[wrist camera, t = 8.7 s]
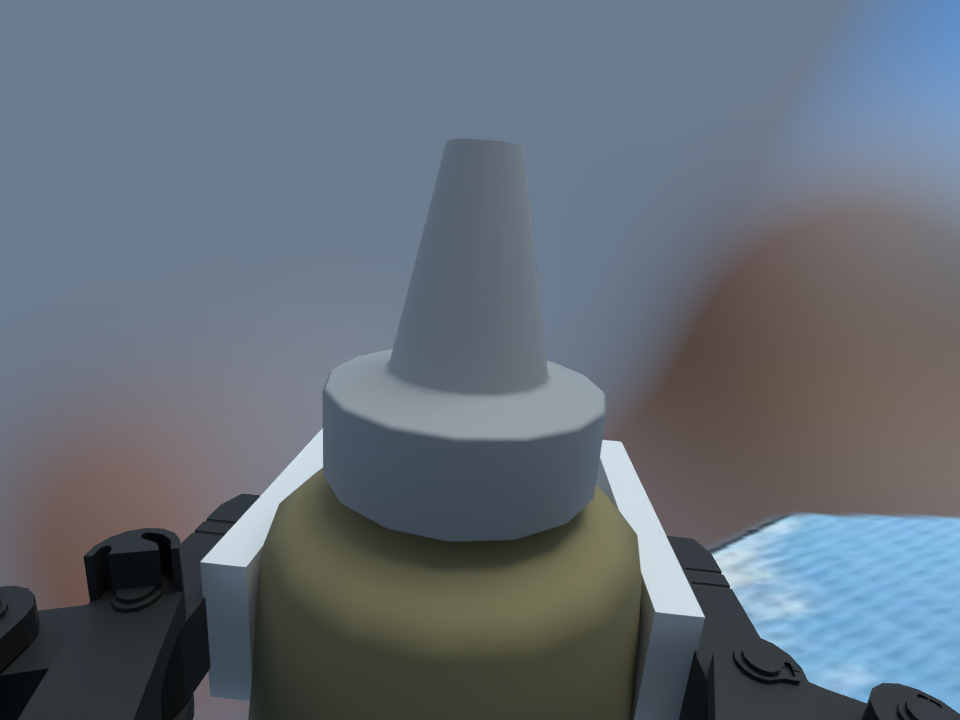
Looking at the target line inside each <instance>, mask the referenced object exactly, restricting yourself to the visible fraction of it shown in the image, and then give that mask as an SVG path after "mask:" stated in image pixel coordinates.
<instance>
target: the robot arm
mask: <svg viewBox="0 0 960 720" xmlns="http://www.w3.org/2000/svg"><path fill="white" fill-rule="evenodd" d="M321 468H323V428H322V430H321V431H320V432H319V433H318V434H317V435H316V436H315V437H314V438H313V439H312V440H311V442H310V443H309V444H308V445H307V446H306V447H305V448H304V449H303V450H302V451H301V452H300V454H299V455H298V456H297V457H296V458H295V459H294V460H293V461H292V462H291V463H290V465H289V466H288V467H287V468H286V469H285V470H284V471H283V472H282V473H281V474H280V475H279V477H278V478H277V479H276V480H275V481H274V482H273V483H272V484H271V485H270V486H269V487H268V489H267V490H266V491H265V492H264V493H263V494H262V495H261V496H259V495H250V494H241V495H239V496H237V497H235V498H233V499H231V500H229V501H227V502H225V503H224V504H222V505H220V506H219V507H218V508H217V509H216V510H215V511H214V512H213V513H212V514H211V515H210V516H209V517H208V518H207V520H206V522H203V523H202V524H201V525H200V526H199V527H198V528H197V529H196V530H195V532H194V533H192V534H191V535H190V536H188V538H187V539H185V540H184V541H183V542H182V543H181V544H180V539H179V538H178V536H177V535H176V534H175V533H174V532H171V531H168V530H165V529H158V528H144V529H139V530H132V531H127V532H124V533H121V534H118V535H116V536H113V537H110V538H108V539H106V540H104V541H103V542H101V543H99V544H97V545H95V546H94V547H93V548H92V549H91V550H90V551H89V552H88V553H87V554H86V555H85V556H84V562H85V568H86V576H87V583H88V590H89V597H90V602H89V604H87V605H82V606H75V607H66V608H58V609H50V610H41V611H37V605H36V600H35V595H34V594H33V593H32V592H31V591H30V590H29V589H27V588H22V587H18V586H5V587H0V720H193V717H194V695H193V693H194V691H195V690H196V688H197V687H198V685H199V684H200V682H201V681H202V679H203V678H204V676H205V675H206V673H207V672H209V685H210V696H211V697H219V698H229V699H236V700H244V701H250V695H251V684H252V671H253V659H254V647H255V635H256V623H257V611H258V599H259V587H260V575H261V563H262V551H263V544H264V542H265V539H266V537H267V534H268V532H269V529H270V526H271V524H272V521H273V519H274V516H275V513H276V511H277V508H278V506H279V503H280V502H282V501H283V500H284V499H285V498H286V497H287V496H289V495H290V494H291V493H292V492H293V491H295V490H296V489H297V488H298V487H299V486H300V485H302V484H303V483H304V482H305V481H306V480H308V479H309V478H310V477H311V476H312V475H313V474H315V473H316V472H317V471H319V470H320V469H321ZM596 485H597V486H598V487H599V488H600V489H601V490H602V491H603V492H604V493H605V494H606V495H607V496H608V497H609V498H610V499H611V500H612V502H613V503H614V504H615V506H616V507H617V508H618V510H619V511H620V512H621V514H622V515H623V516H624V518H625V519H626V520H627V522H628V523H629V524H630V526H631V527H632V528H633V530H634V531H635V532H636V534H637V536H638V546H639V557H640V567H641V577H642V584H641V600H640V615H639V630H638V646H637V661H636V677H635V692H634V701H633V709H632V717H631V720H960V714H959V713H957V712H956V711H955V710H953V709H952V708H950V707H949V706H948V705H946V704H945V703H943V702H942V701H940V700H938V699H936V698H934V697H933V696H930V695H928V694H926V693H924V692H922V691H920V690H918V689H915V688H911V687H908V686H905V685H901V684H892V683H882V684H880V685H878V686H876V687H874V688H872V691H871V694H870V697H869V700H868V702H867V703H864V702H861V701H858V700H855V699H852V698H850V697H847V696H844V695H841V694H838V693H835V692H833V691H830V690H827V689H824V688H822V687H819V686H817V685H815V684H812V683H810V682H808V680H807V678H806V676H805V674H804V672H803V670H802V668H801V667H800V666H799V665H798V664H797V663H796V662H795V661H794V659H793V658H792V657H791V656H790V655H789V654H787V653H786V652H784V651H783V650H781V649H780V648H779V647H777V646H776V645H774V644H773V643H770V642H768V641H766V640H763V639H761V638H760V637H759V635H758V633H757V631H756V630H755V628H754V626H753V625H752V623H751V621H750V619H749V618H748V616H747V614H746V613H745V611H744V609H743V607H742V606H741V604H740V602H739V601H738V599H737V597H736V596H735V594H734V592H733V590H732V589H730V585H729V584H728V582H727V580H726V578H725V577H724V575H722V574H721V570H720V568H719V566H718V565H717V563H716V561H715V560H714V558H713V556H712V555H711V554H710V553H709V552H708V551H707V550H706V549H705V548H703V547H702V546H701V545H700V544H699V543H698V542H696V541H695V540H694V539H690V538H679V537H670V536H666V535H665V532H664V530H663V528H662V526H661V524H660V522H659V520H658V518H657V516H656V514H655V512H654V509H653V507H652V505H651V503H650V501H649V499H648V497H647V495H646V493H645V491H644V488H643V486H642V484H641V482H640V480H639V478H638V476H637V474H636V472H635V470H634V467H633V466H632V463H631V461H630V459H629V457H628V455H627V453H626V451H625V449H624V446H623V444H622V442H618V441H606V440H602V446H601V453H600V459H599V466H598V473H597V479H596Z"/></svg>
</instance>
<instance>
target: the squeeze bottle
mask: <svg viewBox="0 0 960 720" xmlns="http://www.w3.org/2000/svg"><path fill="white" fill-rule="evenodd" d="M605 419H606V396H605V394H604V393H603V391H601V390H600V389H599V388H598V387H597V386H596V385H595V384H593V383H592V382H591V381H590V380H589V379H588V378H586V377H585V376H584V375H582V374H579V373H577V372H575V371H572V370H570V369H568V368H565V367H563V366H560V365H558V364H556V363H553V362H549V361H547V360H546V351H545V342H544V333H543V322H542V313H541V303H540V294H539V284H538V276H537V265H536V256H535V246H534V236H533V227H532V217H531V208H530V199H529V189H528V179H527V170H526V160H525V152H524V148H523V147H522V146H519V145H516V144H511V143H506V142H500V141H490V140H476V139H454V140H448V141H447V142H446V144H445V148H444V152H443V156H442V160H441V163H440V167H439V171H438V175H437V179H436V183H435V187H434V191H433V195H432V198H431V202H430V206H429V210H428V214H427V218H426V222H425V226H424V230H423V234H422V237H421V241H420V245H419V249H418V253H417V257H416V261H415V264H414V268H413V272H412V277H411V280H410V284H409V288H408V292H407V296H406V299H405V304H404V307H403V312H402V315H401V319H400V323H399V327H398V331H397V335H396V338H395V342H394V346H393V349H390V350H385V351H381V352H376V353H372V354H367V355H362V356H358V357H356V358H354V359H352V360H350V361H348V362H346V363H344V364H343V365H340V366H338V367H336V368H335V369H333V370H332V371H331V372H330V374H329V376H328V379H327V381H326V384H325V386H324V389H323V468H321V469H320V470H319V471H317V472H316V473H315V474H313V475H312V476H311V477H310V478H309V479H308V480H306V481H305V482H304V483H303V484H302V485H300V486H299V487H298V488H297V489H296V490H295V491H293V492H292V493H291V494H290V495H289V496H287V497H286V498H285V499H284V500H283V501H282V502H280V503H279V506H278V508H277V511H276V513H275V516H274V519H273V521H272V524H271V526H270V529H269V532H268V534H267V537H266V539H265V542H264V544H263V551H262V563H261V575H260V587H259V599H258V611H257V623H256V635H255V647H254V659H253V671H252V684H251V695H250V707H249V720H631V717H632V709H633V701H634V692H635V677H636V661H637V646H638V630H639V615H640V600H641V584H642V577H641V567H640V557H639V546H638V536H637V534H636V532H635V531H634V530H633V528H632V527H631V526H630V524H629V523H628V522H627V520H626V519H625V518H624V516H623V515H622V514H621V512H620V511H619V510H618V508H617V507H616V506H615V504H614V503H613V502H612V500H611V499H610V498H609V497H608V496H607V495H606V494H605V493H604V492H603V491H602V490H601V489H600V488H599V487H598V486H597V485H596V479H597V473H598V466H599V459H600V453H601V446H602V439H603V432H604V426H605Z"/></svg>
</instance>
